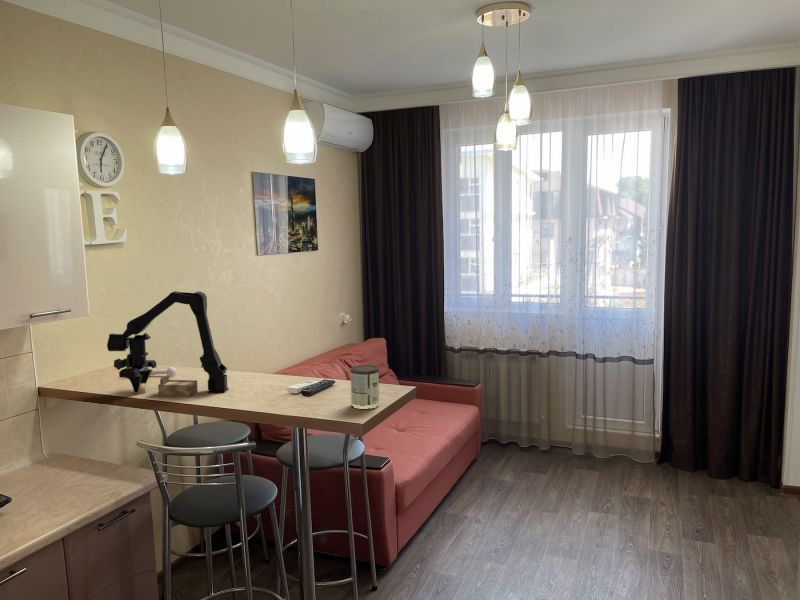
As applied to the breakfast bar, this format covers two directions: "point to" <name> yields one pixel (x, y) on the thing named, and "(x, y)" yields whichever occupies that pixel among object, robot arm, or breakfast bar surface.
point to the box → (178, 389)
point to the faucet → (164, 371)
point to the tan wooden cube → (140, 389)
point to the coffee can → (364, 385)
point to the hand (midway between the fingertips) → (139, 390)
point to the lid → (166, 382)
